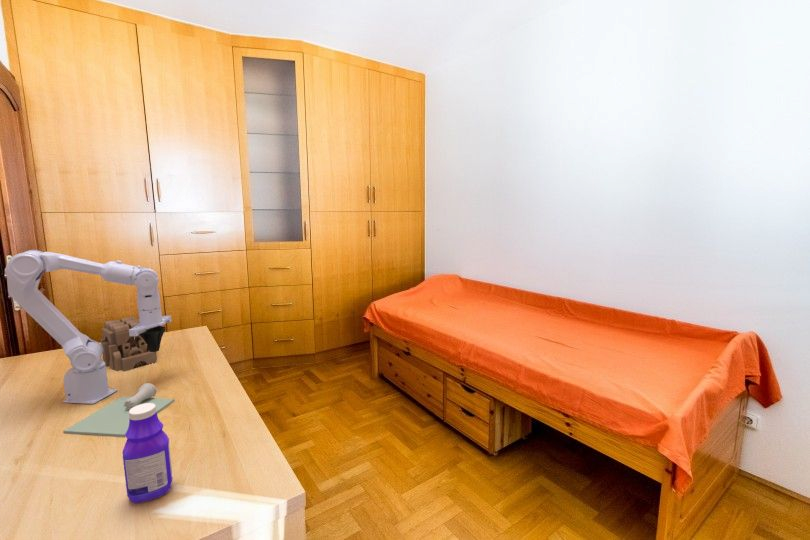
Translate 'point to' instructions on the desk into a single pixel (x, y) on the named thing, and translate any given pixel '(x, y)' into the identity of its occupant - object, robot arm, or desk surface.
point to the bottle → (146, 455)
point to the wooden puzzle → (124, 345)
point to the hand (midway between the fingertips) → (154, 351)
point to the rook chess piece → (141, 395)
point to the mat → (112, 418)
